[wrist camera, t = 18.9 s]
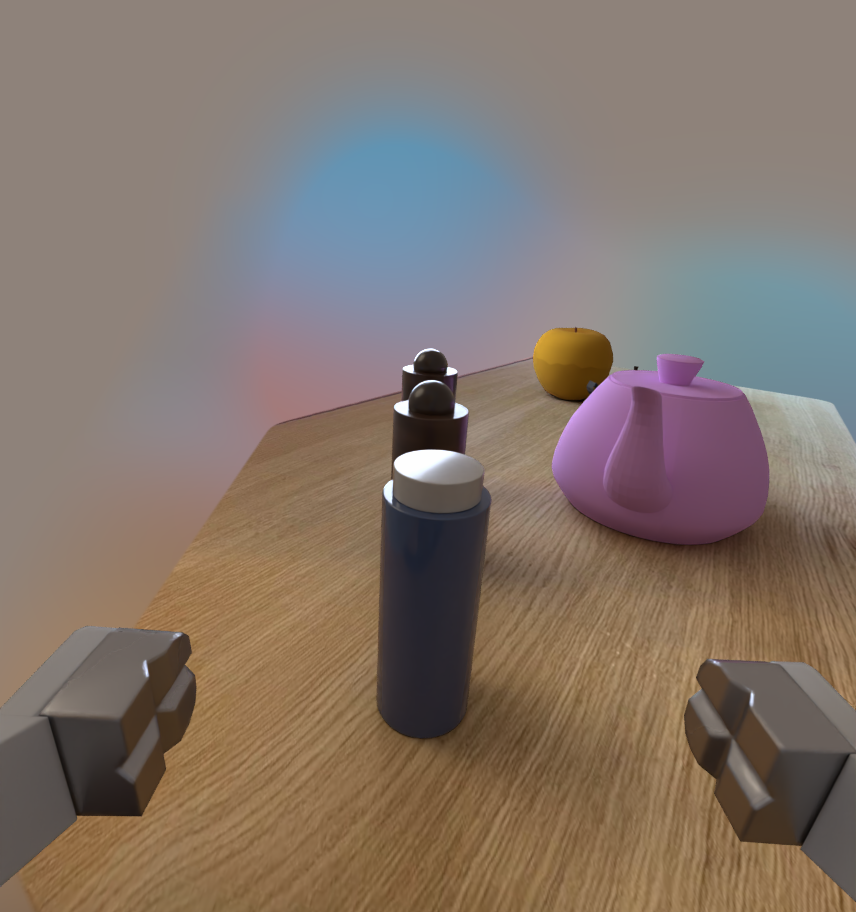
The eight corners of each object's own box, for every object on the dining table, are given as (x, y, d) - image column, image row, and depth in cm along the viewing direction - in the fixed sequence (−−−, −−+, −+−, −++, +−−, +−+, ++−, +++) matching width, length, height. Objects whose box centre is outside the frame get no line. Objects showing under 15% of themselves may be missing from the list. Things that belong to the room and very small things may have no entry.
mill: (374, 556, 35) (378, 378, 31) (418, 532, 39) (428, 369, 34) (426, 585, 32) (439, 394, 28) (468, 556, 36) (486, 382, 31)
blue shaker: (357, 700, 24) (359, 463, 19) (417, 651, 27) (431, 439, 22) (427, 758, 21) (449, 500, 17) (485, 696, 24) (515, 466, 20)
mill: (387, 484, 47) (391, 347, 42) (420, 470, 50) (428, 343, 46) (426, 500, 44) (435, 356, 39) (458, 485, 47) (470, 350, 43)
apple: (515, 394, 83) (524, 324, 79) (547, 383, 93) (556, 320, 89) (590, 410, 76) (604, 335, 72) (616, 396, 86) (629, 329, 82)
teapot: (587, 448, 59) (608, 332, 55) (758, 490, 51) (803, 356, 46) (494, 530, 40) (515, 359, 35) (749, 620, 31) (825, 409, 26)
